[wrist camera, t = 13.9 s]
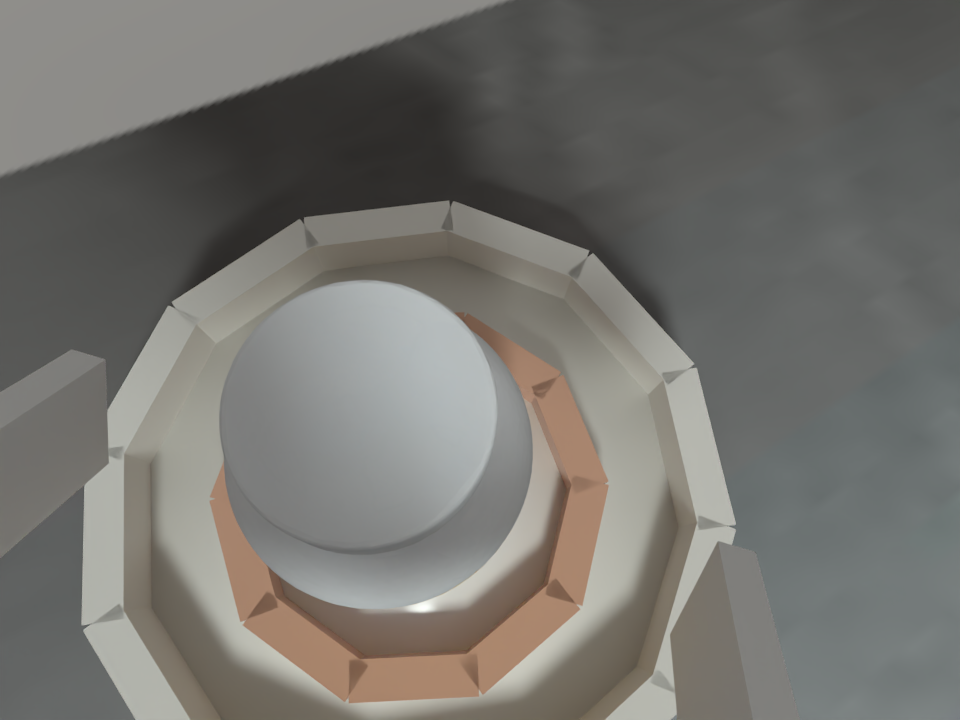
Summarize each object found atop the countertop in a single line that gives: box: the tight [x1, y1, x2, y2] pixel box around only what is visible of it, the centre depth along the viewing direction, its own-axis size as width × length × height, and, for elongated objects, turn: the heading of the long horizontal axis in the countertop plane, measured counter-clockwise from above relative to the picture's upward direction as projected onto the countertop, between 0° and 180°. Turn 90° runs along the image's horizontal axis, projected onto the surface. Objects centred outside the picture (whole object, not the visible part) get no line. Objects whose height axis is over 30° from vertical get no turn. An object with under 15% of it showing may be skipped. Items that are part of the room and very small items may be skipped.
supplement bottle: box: [219, 280, 533, 609], centre depth 18 cm, size 7×7×13 cm
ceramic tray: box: [82, 201, 736, 720], centre depth 23 cm, size 20×20×3 cm
